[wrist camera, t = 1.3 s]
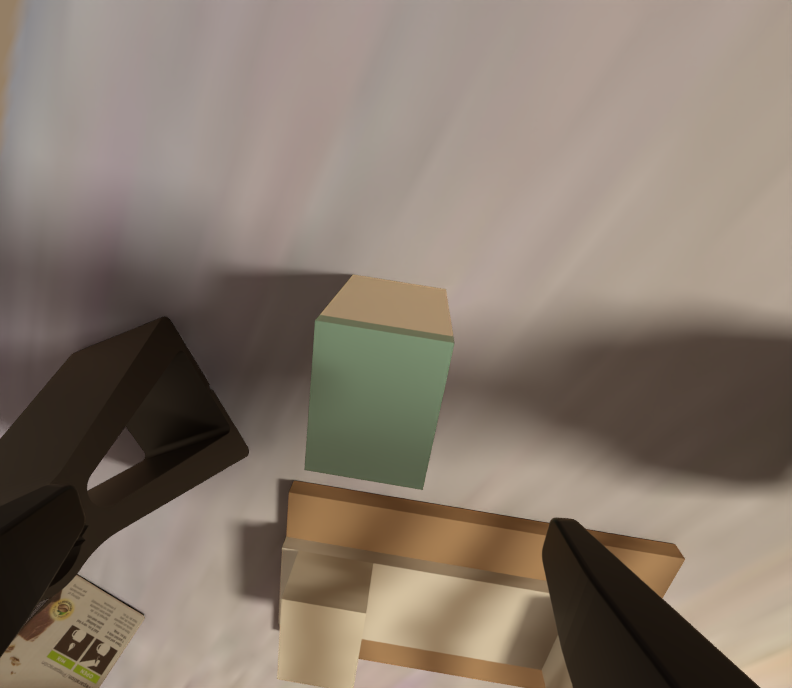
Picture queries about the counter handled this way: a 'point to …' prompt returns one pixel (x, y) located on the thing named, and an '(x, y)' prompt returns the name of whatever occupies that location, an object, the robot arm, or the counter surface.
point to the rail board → (426, 589)
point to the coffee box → (70, 640)
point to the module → (378, 381)
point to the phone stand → (104, 421)
